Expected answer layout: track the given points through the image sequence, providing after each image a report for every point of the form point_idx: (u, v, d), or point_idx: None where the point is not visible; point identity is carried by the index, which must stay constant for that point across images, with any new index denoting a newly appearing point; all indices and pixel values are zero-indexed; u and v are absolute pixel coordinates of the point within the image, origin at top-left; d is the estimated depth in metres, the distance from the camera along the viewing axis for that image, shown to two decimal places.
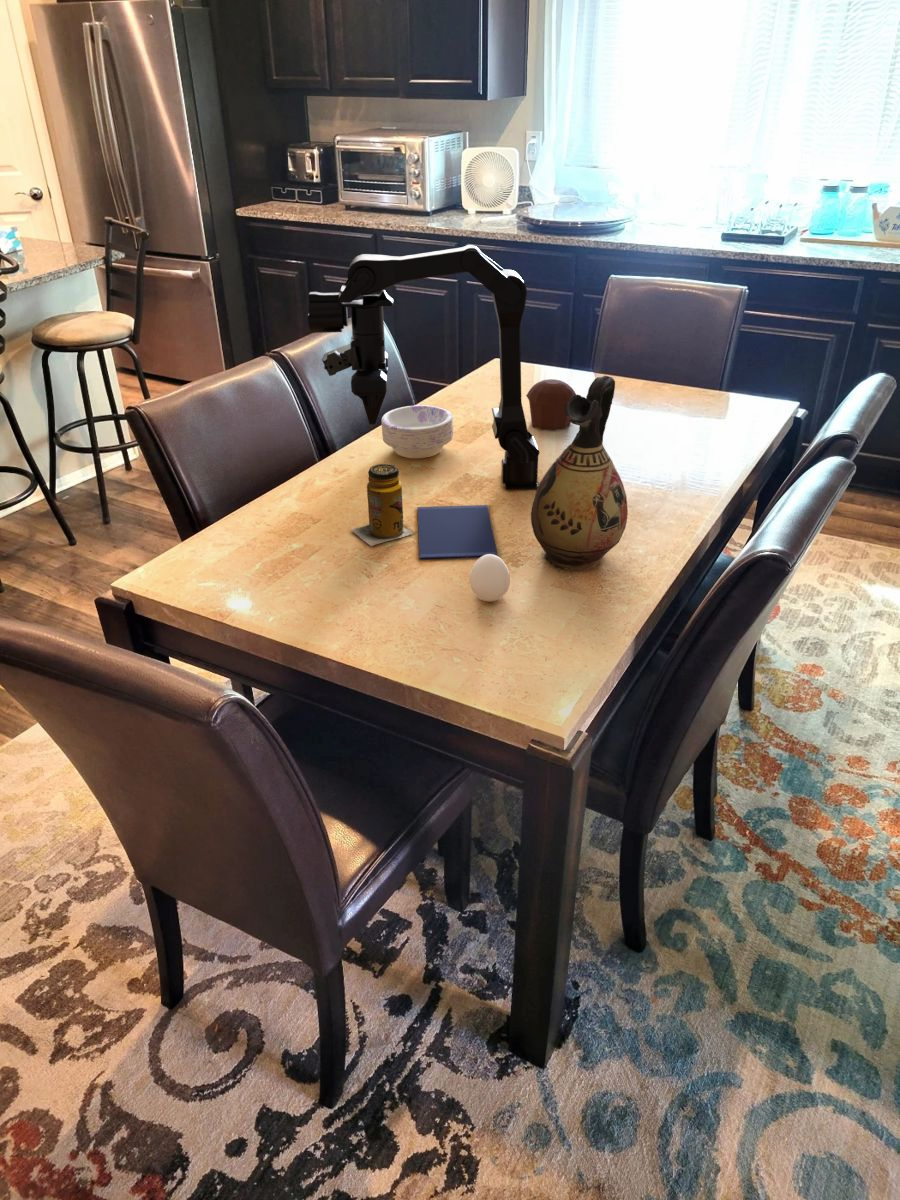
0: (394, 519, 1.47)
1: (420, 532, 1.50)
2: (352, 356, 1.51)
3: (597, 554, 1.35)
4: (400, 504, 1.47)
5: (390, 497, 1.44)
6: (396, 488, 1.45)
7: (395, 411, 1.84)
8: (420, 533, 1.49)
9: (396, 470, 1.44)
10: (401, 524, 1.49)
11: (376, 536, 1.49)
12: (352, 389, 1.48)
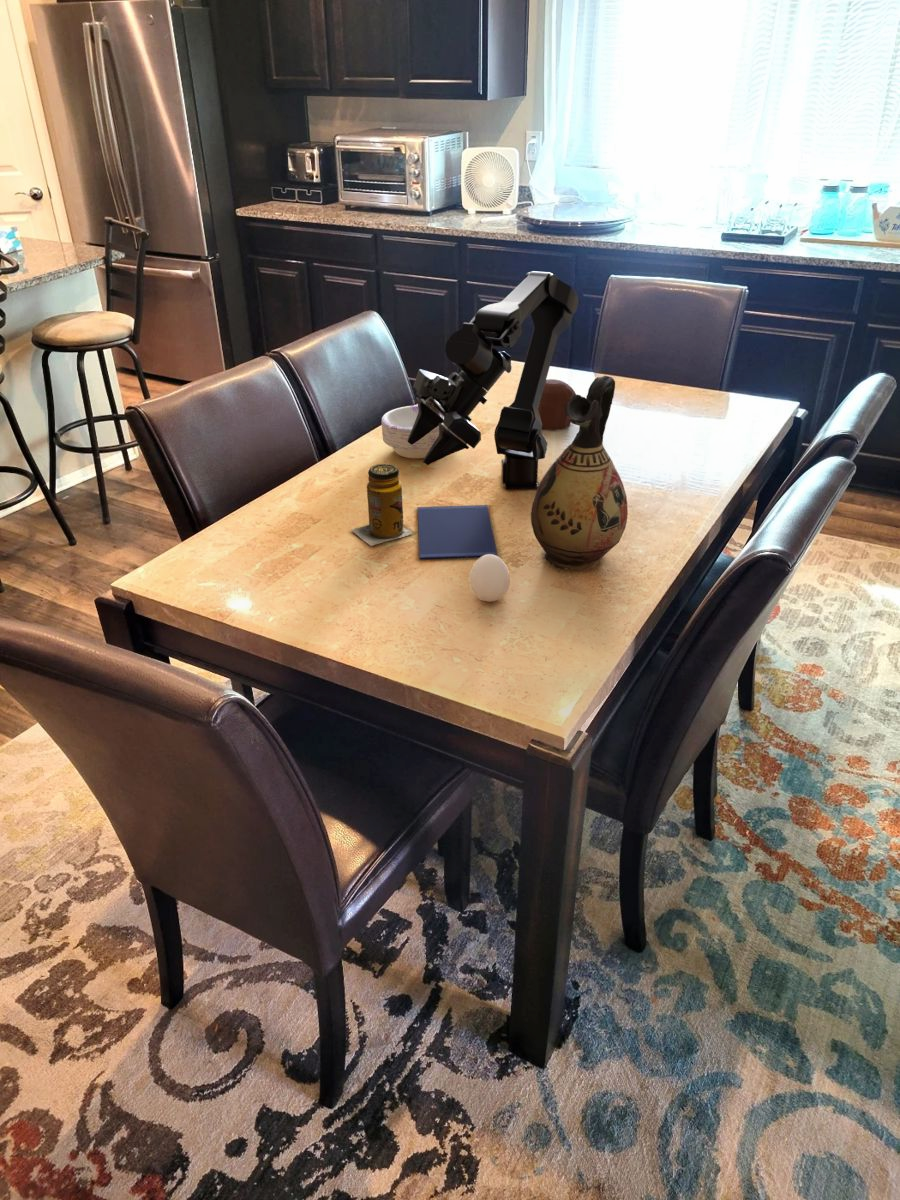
0: (394, 519, 1.47)
1: (420, 532, 1.50)
2: (454, 393, 1.40)
3: (597, 554, 1.35)
4: (400, 504, 1.47)
5: (390, 497, 1.44)
6: (396, 488, 1.45)
7: (395, 410, 1.84)
8: (420, 533, 1.49)
9: (396, 470, 1.44)
10: (401, 524, 1.49)
11: (376, 536, 1.49)
12: (451, 426, 1.36)
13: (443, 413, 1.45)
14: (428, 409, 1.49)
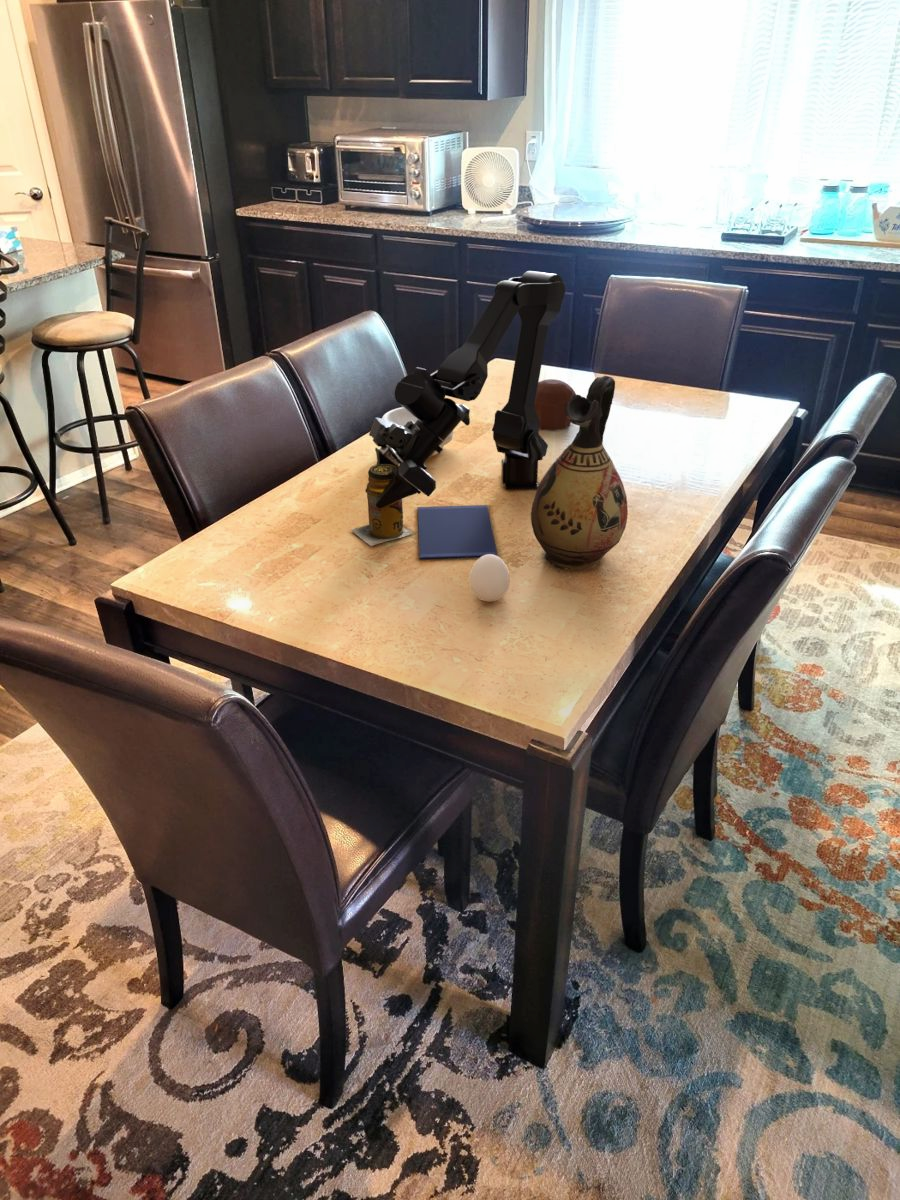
0: (394, 519, 1.47)
1: (420, 532, 1.50)
2: (410, 442, 1.41)
3: (597, 554, 1.35)
4: (400, 504, 1.47)
5: None
6: None
7: (395, 411, 1.84)
8: (420, 533, 1.49)
9: (396, 470, 1.44)
10: (401, 524, 1.49)
11: (375, 536, 1.49)
12: (406, 474, 1.37)
13: None
14: (387, 460, 1.48)
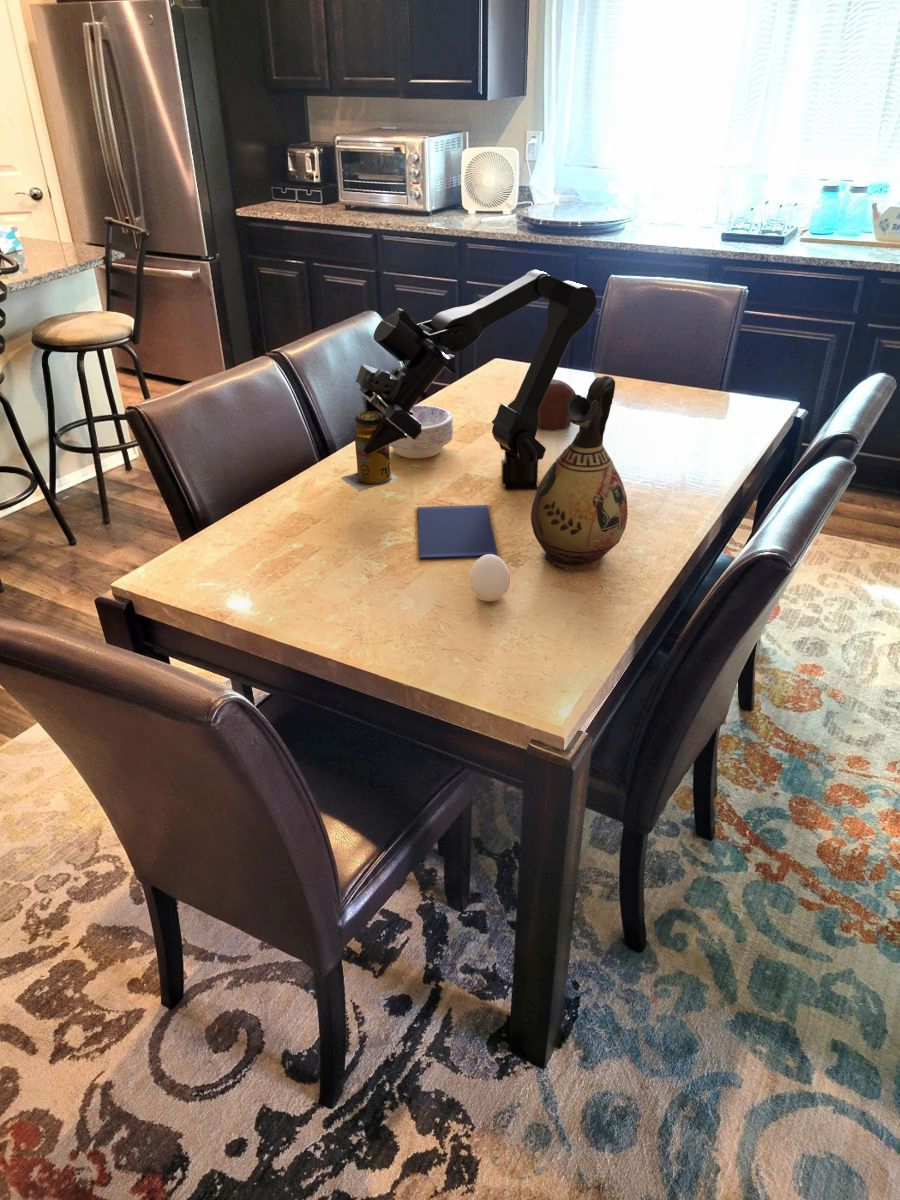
0: (381, 465, 1.51)
1: (420, 532, 1.50)
2: (395, 387, 1.45)
3: (597, 554, 1.35)
4: (387, 450, 1.51)
5: None
6: None
7: None
8: (420, 533, 1.49)
9: None
10: (389, 471, 1.53)
11: (364, 483, 1.52)
12: (392, 417, 1.40)
13: None
14: (374, 407, 1.52)
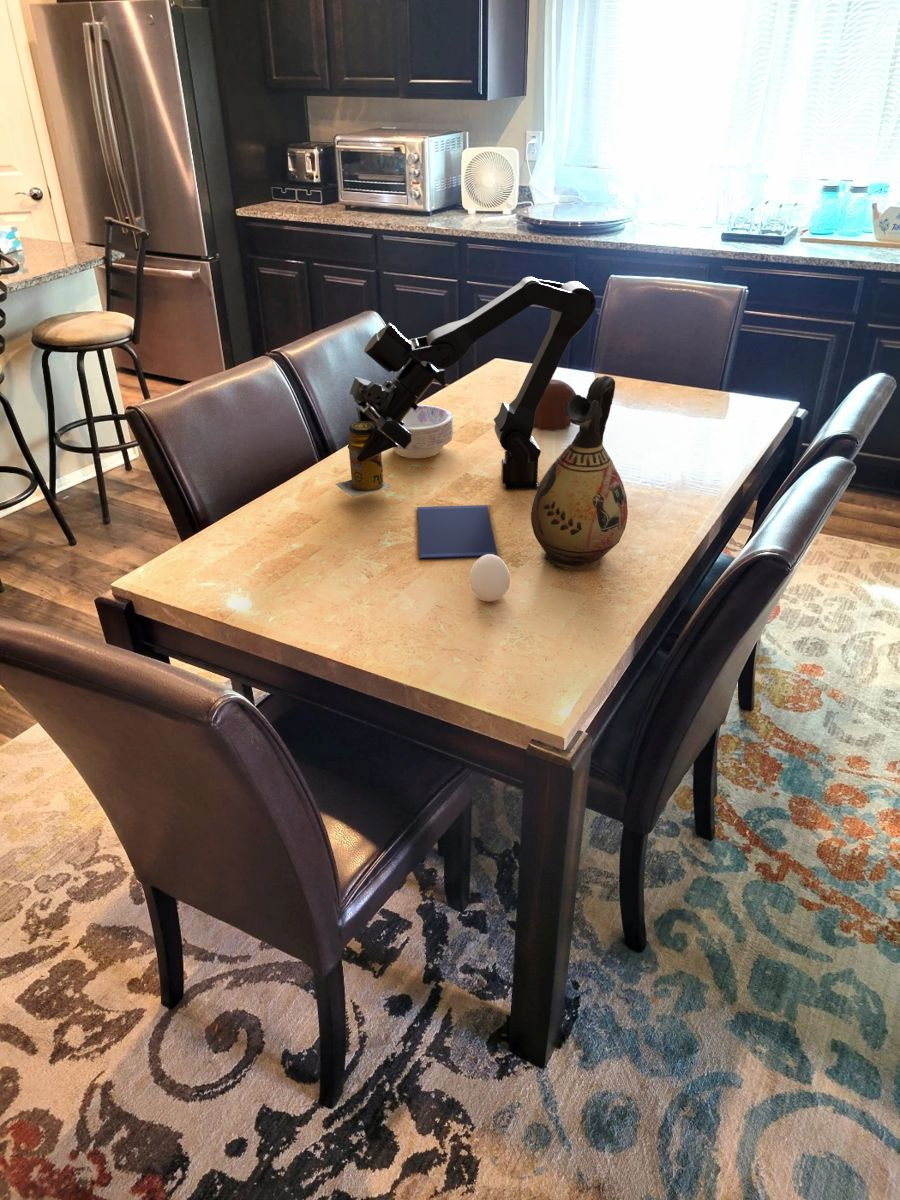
0: (374, 472, 1.58)
1: (420, 532, 1.50)
2: (387, 399, 1.52)
3: (597, 554, 1.35)
4: (379, 458, 1.58)
5: None
6: None
7: None
8: (420, 533, 1.49)
9: None
10: (381, 478, 1.60)
11: (357, 489, 1.60)
12: (383, 428, 1.48)
13: None
14: (367, 417, 1.59)
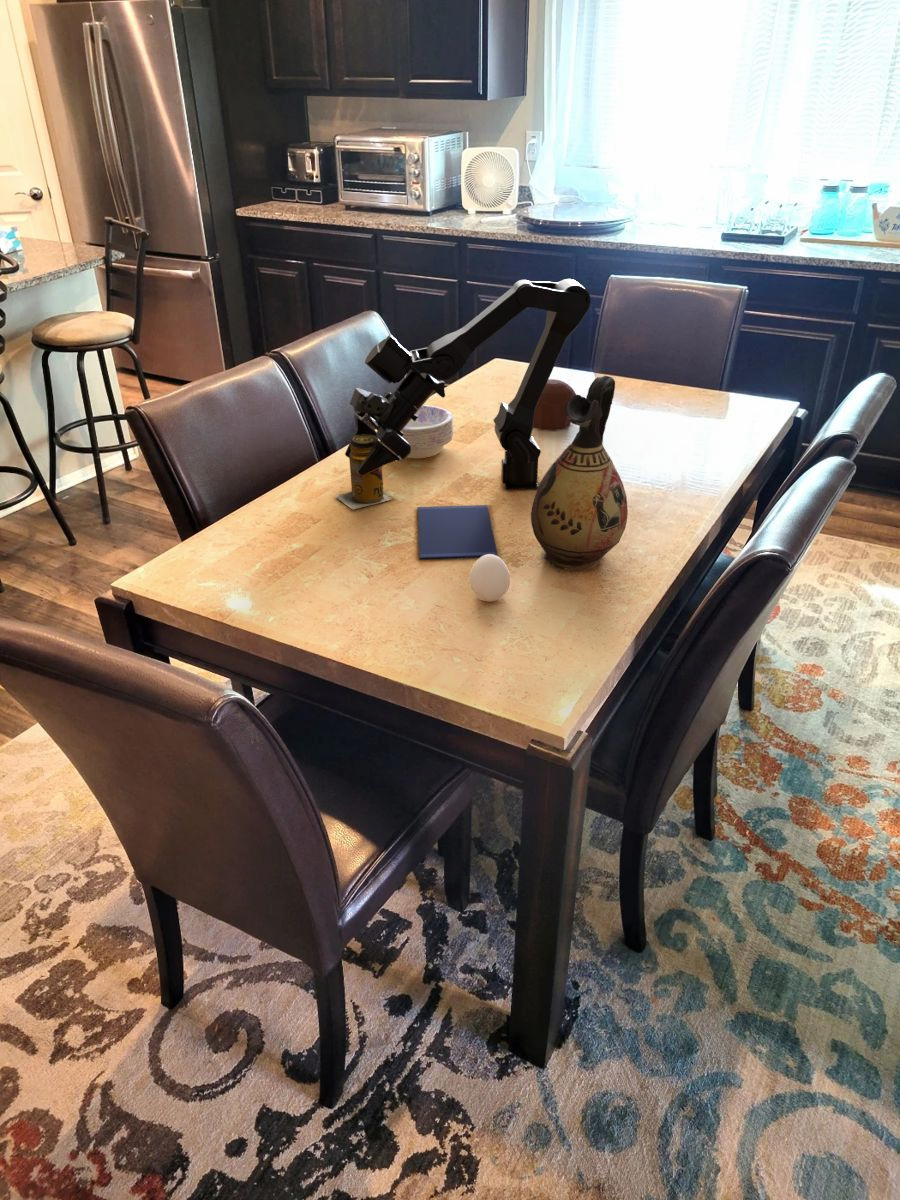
0: (374, 485, 1.60)
1: (420, 532, 1.50)
2: (387, 410, 1.53)
3: (597, 554, 1.35)
4: (380, 471, 1.59)
5: None
6: None
7: None
8: (420, 533, 1.49)
9: None
10: (381, 490, 1.62)
11: (357, 501, 1.61)
12: (383, 439, 1.49)
13: (378, 428, 1.58)
14: (364, 425, 1.62)
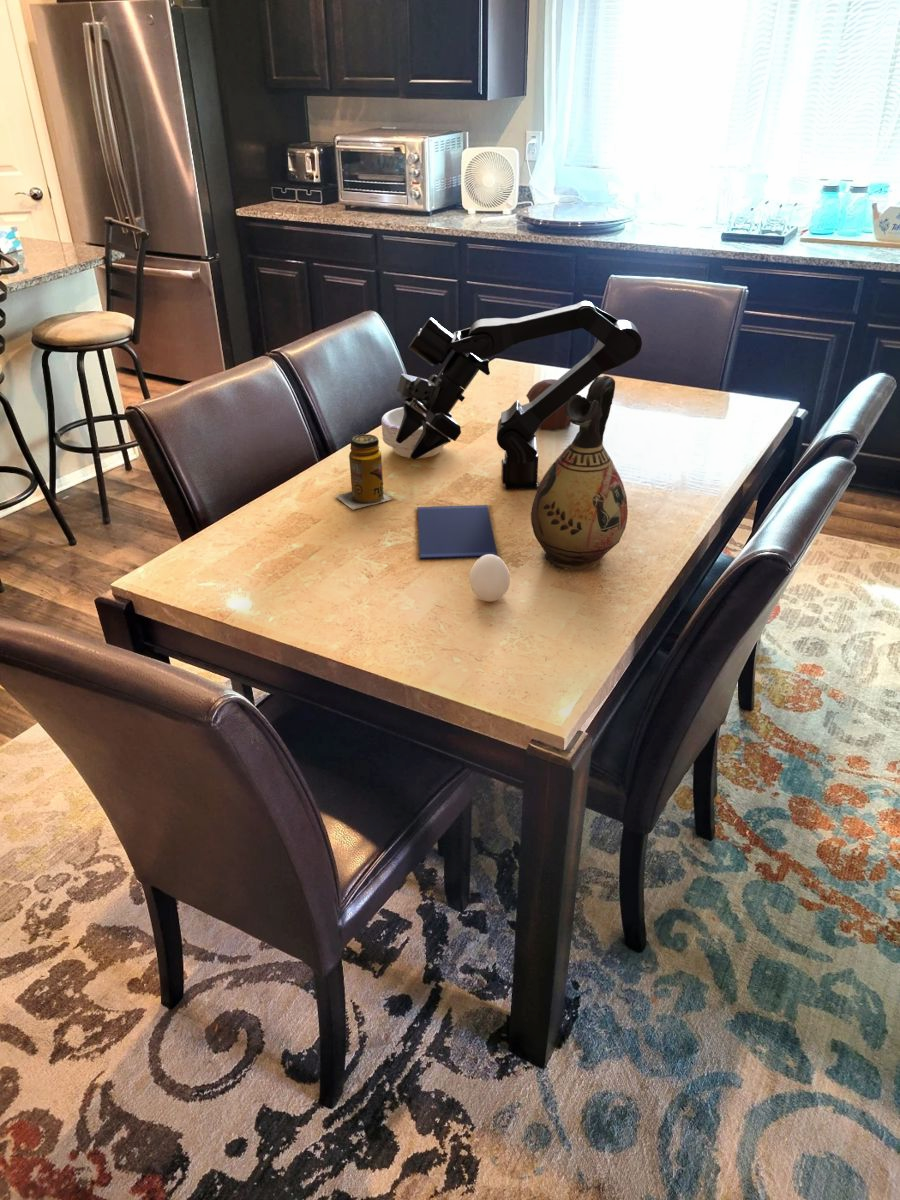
0: (374, 485, 1.60)
1: (420, 532, 1.50)
2: (434, 393, 1.55)
3: (597, 554, 1.35)
4: (380, 471, 1.60)
5: (370, 464, 1.57)
6: (376, 456, 1.57)
7: (395, 411, 1.84)
8: (420, 533, 1.49)
9: (376, 439, 1.57)
10: (381, 490, 1.62)
11: (357, 501, 1.61)
12: (432, 422, 1.51)
13: (426, 412, 1.60)
14: (413, 410, 1.64)
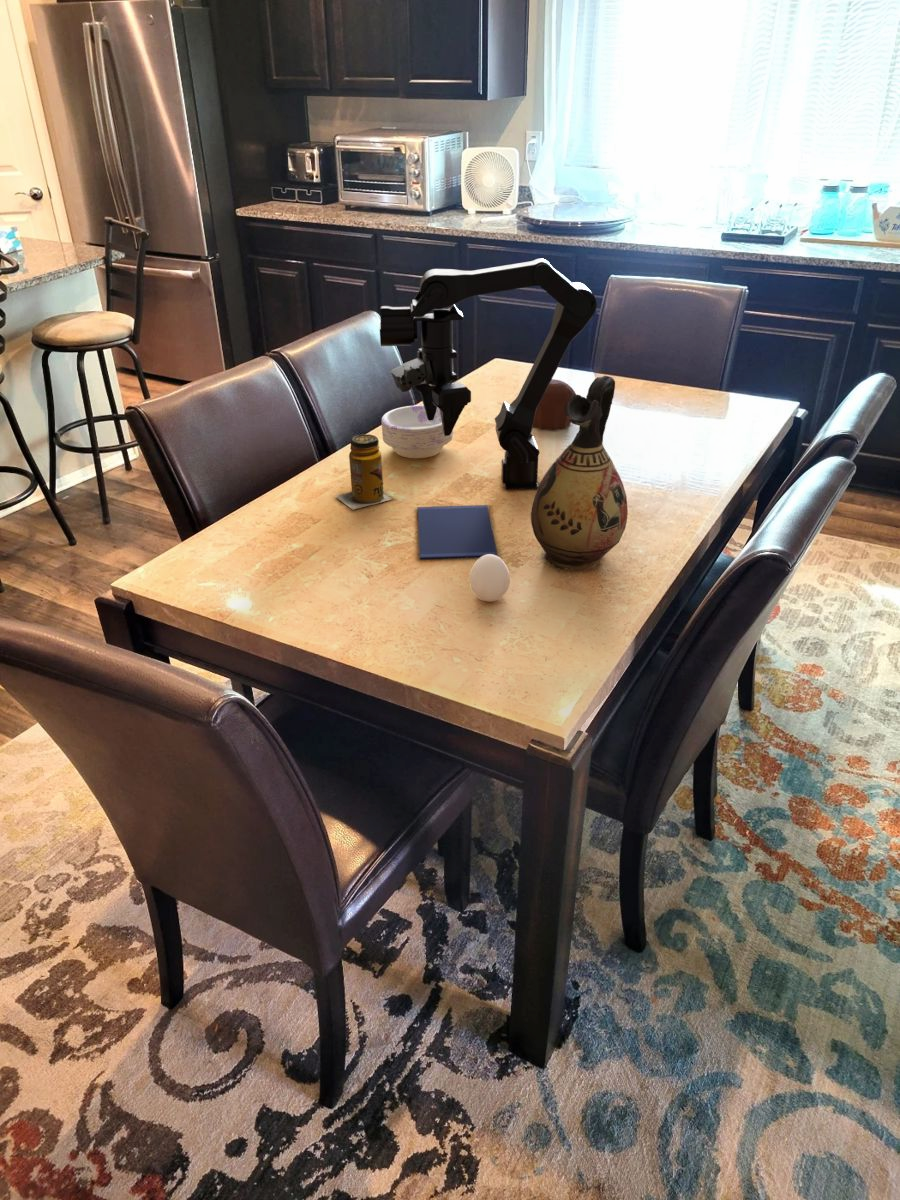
0: (374, 485, 1.60)
1: (420, 532, 1.50)
2: (427, 370, 1.53)
3: (597, 554, 1.35)
4: (380, 471, 1.60)
5: (370, 464, 1.57)
6: (376, 456, 1.57)
7: (395, 410, 1.84)
8: (420, 533, 1.49)
9: (376, 439, 1.57)
10: (381, 490, 1.62)
11: (357, 501, 1.61)
12: (440, 402, 1.50)
13: None
14: (424, 386, 1.62)
